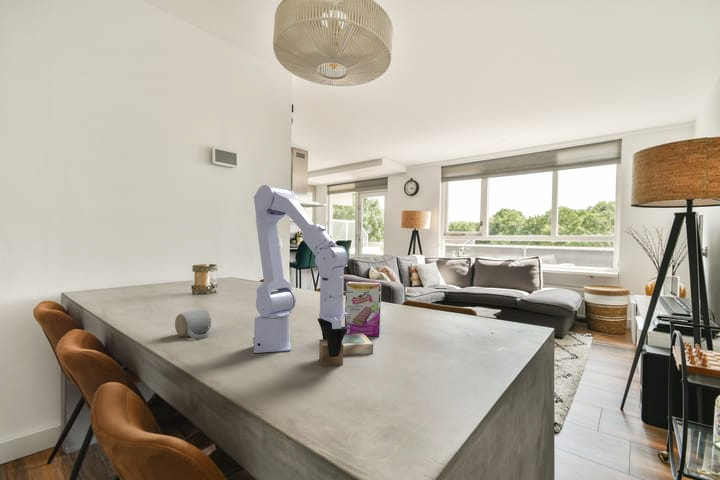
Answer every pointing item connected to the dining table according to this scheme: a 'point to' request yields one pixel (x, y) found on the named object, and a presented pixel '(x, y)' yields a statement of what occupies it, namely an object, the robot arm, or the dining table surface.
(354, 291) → the candy bar box
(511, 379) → the dining table surface
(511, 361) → the dining table surface
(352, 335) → the base
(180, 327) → the ceramic mug
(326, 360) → the walnut cube
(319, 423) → the dining table surface
